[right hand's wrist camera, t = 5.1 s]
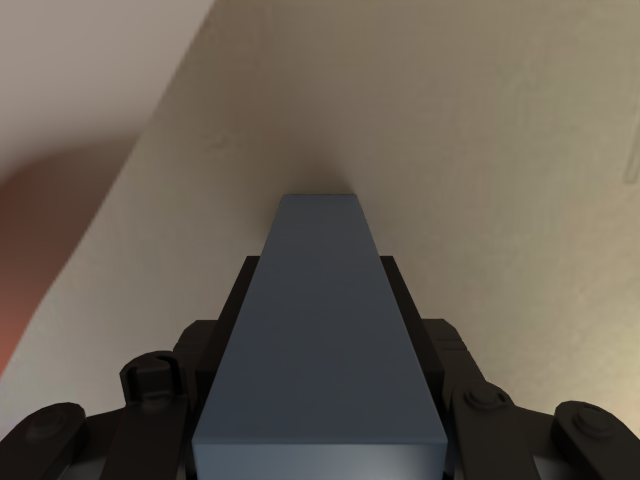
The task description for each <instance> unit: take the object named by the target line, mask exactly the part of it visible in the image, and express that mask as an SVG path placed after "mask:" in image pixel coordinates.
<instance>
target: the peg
mask: <svg viewBox="0 0 640 480" xmlns="http://www.w3.org/2000/svg"><path fill="white" fill-rule="evenodd" d="M447 444H448V439H447V436H446V434H445V431H444V428H443V426H442V423H441V420H440V418H439V415H438V412H437V410H436V407H435V404H434V402H433V399H432V396H431V394H430V391H429V388H428V385H427V383H426V380H425V377H424V375H423V372H422V369H421V367H420V364H419V361H418V359H417V356H416V353H415V351H414V348H413V345H412V343H411V340H410V337H409V335H408V332H407V329H406V327H405V324H404V321H403V318H402V316H401V313H400V310H399V308H398V305H397V302H396V300H395V297H394V294H393V292H392V289H391V286H390V284H389V281H388V278H387V276H386V273H385V270H384V268H383V265H382V262H381V260H380V257H379V254H378V251H377V249H376V246H375V243H374V241H373V238H372V235H371V233H370V230H369V227H368V225H367V222H366V219H365V217H364V214H363V211H362V209H361V206H360V203H359V201H358V198H357V195H283V197H282V200H281V203H280V205H279V208H278V211H277V213H276V216H275V219H274V221H273V224H272V227H271V229H270V232H269V235H268V237H267V240H266V243H265V246H264V248H263V251H262V254H261V256H260V259H259V262H258V264H257V267H256V270H255V272H254V275H253V278H252V280H251V283H250V286H249V288H248V291H247V294H246V296H245V299H244V302H243V304H242V307H241V310H240V312H239V315H238V318H237V320H236V323H235V326H234V328H233V331H232V334H231V336H230V339H229V342H228V344H227V347H226V350H225V352H224V355H223V358H222V360H221V363H220V366H219V368H218V371H217V374H216V377H215V379H214V382H213V385H212V387H211V390H210V393H209V395H208V398H207V401H206V403H205V406H204V409H203V411H202V414H201V417H200V419H199V422H198V425H197V427H196V430H195V433H194V435H193V438H192V447H193V454H194V460H195V467H196V473H197V480H442V477H443V471H444V464H445V457H446V451H447Z"/></svg>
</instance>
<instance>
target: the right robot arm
mask: <svg viewBox="0 0 640 480" xmlns="http://www.w3.org/2000/svg"><path fill="white" fill-rule="evenodd" d="M379 257H380V260H381V262H382V265H383V268H384V270H385V273H386V276H387V278H388V281H389V284H390V286H391V289H392V292H393V294H394V297H395V300H396V302H397V305H398V308H399V310H400V313H401V316H402V318H403V321H404V324H405V327H406V329H407V332H408V335H409V337H410V340H411V343H412V345H413V348H414V351H415V353H416V356H417V359H418V361H419V364H420V367H421V369H422V372H423V375H424V377H425V380H426V383H427V385H428V388H429V391H430V394H431V396H432V399H433V402H434V404H435V407H436V410H437V412H438V415H439V418H440V420H441V423H442V426H443V428H444V431H445V434H446V436H447V439H448V444H447V451H446V457H445V464H444V471H443V477H442V480H640V440H639V439H638V438H637V437H636V436H635V435H634V434H633V432H632V431H631V430H630V429H629V428H628V427H627V426H626V425H625V424H624V423H623V422H621V421H620V420H619V419H618V418H616V417H615V416H614V415H613V414H611V413H609V412H607V411H606V410H604V409H602V408H600V407H598V406H595V405H592V404H589V403H586V402H580V401H567V402H562V403H561V404H560V405H558V406H557V407H556V410H555V413H554V416H553V415H549V414H545V413H540V412H536V411H532V410H528V409H524V408H521V407H518V406H516V405H514V403H513V401H512V400H511V398H510V396H509V395H508V394H507V393H505V392H504V391H503V390H502V389H501V388H499V387H497V386H495V385H493V384H491V383H489V382H486V380H485V378H484V376H483V375H482V373H481V371H480V370H479V368H478V366H477V364H476V363H475V361H474V359H473V358H472V356H471V354H470V353H469V351H467V347H466V346H465V344H464V342H463V341H462V339H461V337H460V335H459V334H458V332H457V330H456V329H455V328H454V327H453V326H452V325H450V324H449V323H448V322H447V321H445V320H444V319H421V317H420V315H419V313H418V310H417V308H416V306H415V304H414V302H413V299H412V297H411V295H410V293H409V291H408V289H407V286H406V284H405V282H404V280H403V278H402V275H401V273H400V271H399V269H398V267H397V264H396V262H395V260H394V258H393V256H379ZM259 259H260V256H247V257H246V260H245V262H244V264H243V266H242V268H241V270H240V273H239V275H238V277H237V279H236V281H235V284H234V286H233V288H232V290H231V292H230V295H229V297H228V299H227V301H226V303H225V305H224V308H223V310H222V312H221V314H220V316H219V319H218V320H196V321H195V322H194V323H192V324H191V325H190V326H188V327H187V328H186V329H185V330H184V331H183V333H182V335H181V337H180V338H179V340H178V343H176V345H175V347H174V349H173V352H172V351H154V352H150V353H146V354H143V355H141V356H139V357H136V358H134V359H133V360H132V361H130V362H129V363H128V364H126V365H125V366H124V367H123V369H122V370H121V372H120V373H119V374H120V379H121V383H122V388H123V393H124V397H125V402H126V406H125V407H123V408H121V409H117V410H114V411H110V412H106V413H102V414H98V415H93V416H89V417H86V415H85V411H84V409H83V408H82V407H81V406H80V405H79V404H75V403H70V402H66V403H57V404H53V405H50V406H47V407H44V408H41V409H40V410H38V411H36V412H34V413H32V414H30V415H28V416H27V417H26V418H25V419H24V420H22V421H21V422H20V423H19V424H17V425H16V426H15V427H14V428H13V429H12V430H11V431H10V432H9V433H8V435H7V436H6V437H5V438H4V439H3V440H2V441H1V442H0V480H197V473H196V467H195V460H194V454H193V447H192V438H193V435H194V433H195V430H196V427H197V425H198V422H199V419H200V417H201V414H202V411H203V409H204V406H205V403H206V401H207V398H208V395H209V393H210V390H211V387H212V385H213V382H214V379H215V377H216V374H217V371H218V368H219V366H220V363H221V360H222V358H223V355H224V352H225V350H226V347H227V344H228V342H229V339H230V336H231V334H232V331H233V328H234V326H235V323H236V320H237V318H238V315H239V312H240V310H241V307H242V304H243V302H244V299H245V296H246V294H247V291H248V288H249V286H250V283H251V280H252V278H253V275H254V272H255V270H256V267H257V264H258V262H259Z"/></svg>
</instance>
